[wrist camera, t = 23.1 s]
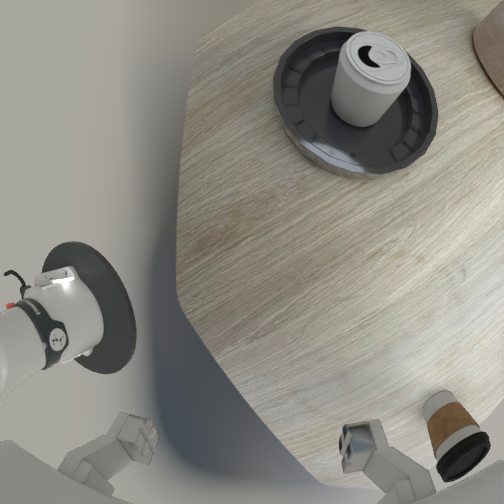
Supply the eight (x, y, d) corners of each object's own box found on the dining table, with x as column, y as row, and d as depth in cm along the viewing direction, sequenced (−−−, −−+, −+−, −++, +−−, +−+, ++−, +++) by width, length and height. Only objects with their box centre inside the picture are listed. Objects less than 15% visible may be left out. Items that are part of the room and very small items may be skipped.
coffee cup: (406, 412, 32) (430, 479, 18) (445, 376, 30) (484, 437, 16) (430, 427, 32) (453, 486, 17) (465, 394, 30) (499, 448, 15)
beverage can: (324, 84, 27) (331, 28, 15) (373, 81, 26) (399, 29, 14) (337, 131, 28) (354, 89, 16) (387, 126, 27) (425, 88, 15)
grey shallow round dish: (280, 177, 31) (276, 172, 26) (275, 47, 28) (270, 26, 23) (427, 184, 27) (446, 180, 22) (408, 56, 24) (419, 39, 20)
